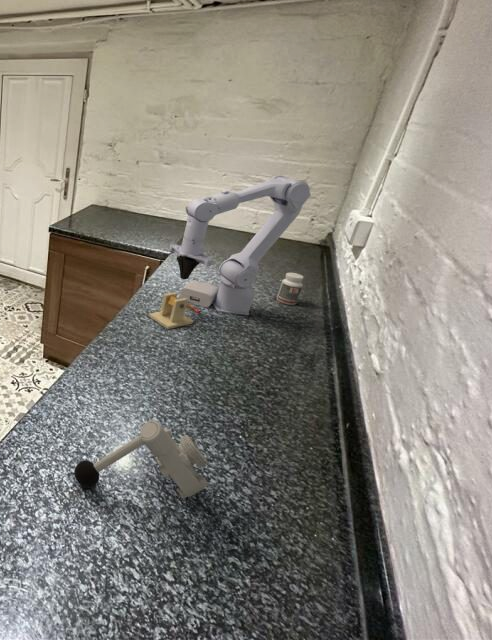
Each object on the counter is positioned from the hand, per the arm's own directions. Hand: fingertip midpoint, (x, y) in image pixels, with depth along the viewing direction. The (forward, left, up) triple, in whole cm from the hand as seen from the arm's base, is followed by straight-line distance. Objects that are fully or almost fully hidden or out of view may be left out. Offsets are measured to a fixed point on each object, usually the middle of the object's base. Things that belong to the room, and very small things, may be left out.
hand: (184, 278), depth 127 cm
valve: (+21, +72, -11) cm, 76 cm away
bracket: (+4, +10, -10) cm, 15 cm away
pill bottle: (-38, -15, -11) cm, 42 cm away
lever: (+1, +8, -7) cm, 11 cm away
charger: (-10, -10, -11) cm, 18 cm away
